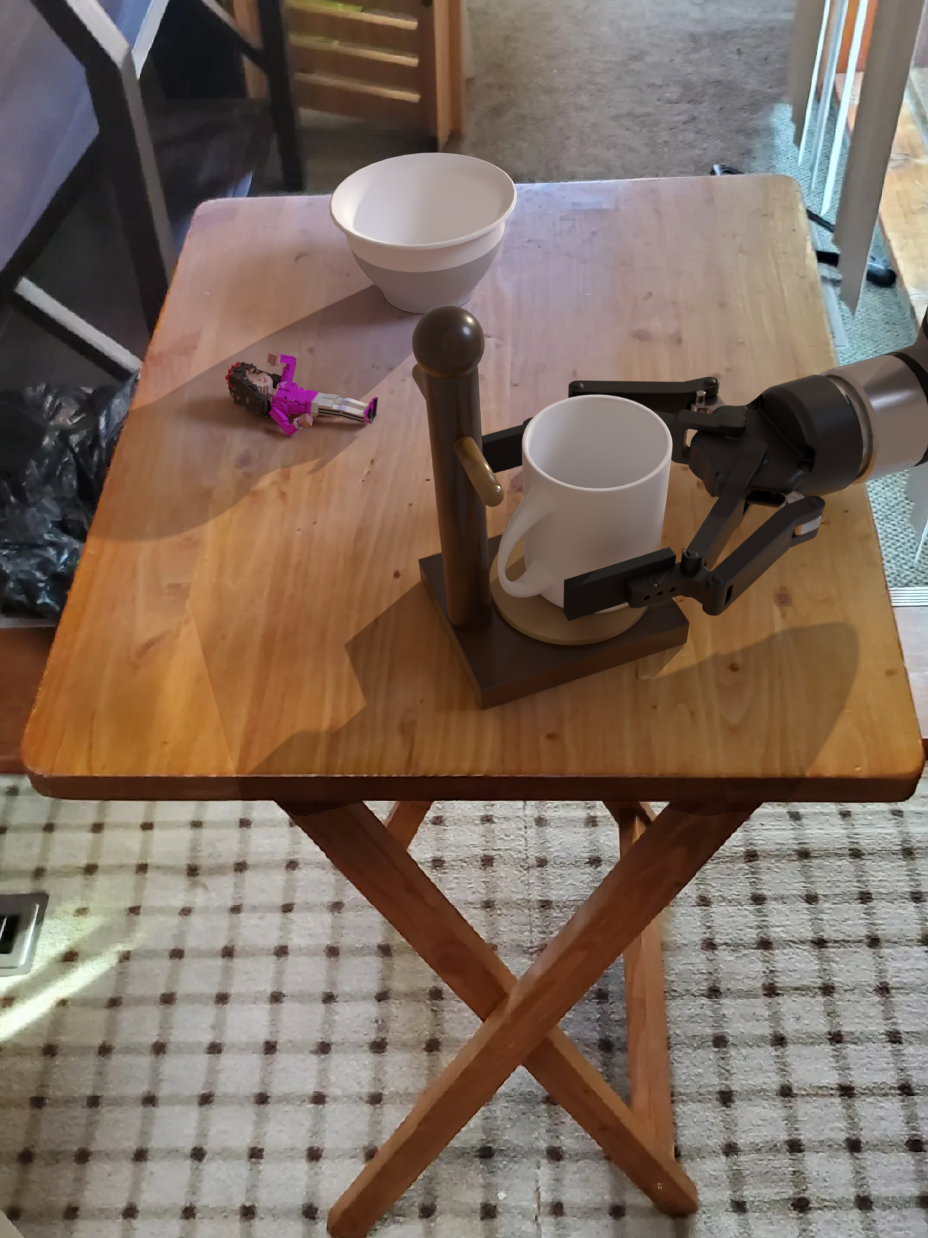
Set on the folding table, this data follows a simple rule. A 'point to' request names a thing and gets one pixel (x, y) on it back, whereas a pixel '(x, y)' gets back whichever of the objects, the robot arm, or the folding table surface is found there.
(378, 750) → the folding table surface
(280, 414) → the character figurine
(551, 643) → the mug stand
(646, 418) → the mug
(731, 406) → the robot arm
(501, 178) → the bowl
